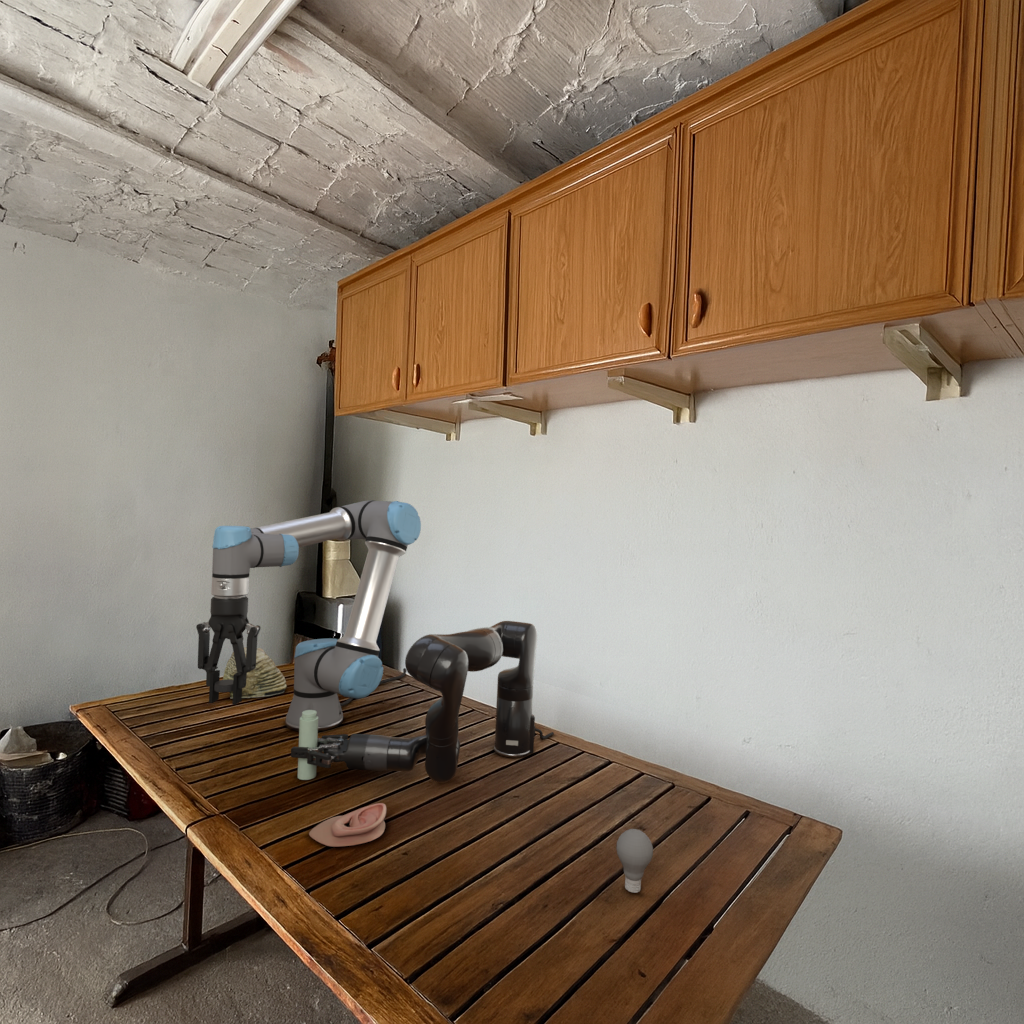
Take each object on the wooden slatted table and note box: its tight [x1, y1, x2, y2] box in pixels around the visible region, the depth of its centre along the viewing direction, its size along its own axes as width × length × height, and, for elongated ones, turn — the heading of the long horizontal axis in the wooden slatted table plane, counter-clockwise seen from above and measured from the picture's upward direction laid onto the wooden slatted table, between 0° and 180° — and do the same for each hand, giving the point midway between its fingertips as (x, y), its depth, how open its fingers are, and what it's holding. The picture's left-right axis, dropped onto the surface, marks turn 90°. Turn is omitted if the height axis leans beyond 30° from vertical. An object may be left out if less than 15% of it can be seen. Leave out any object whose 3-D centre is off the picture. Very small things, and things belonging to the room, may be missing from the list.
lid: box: [214, 679, 233, 693], centre depth 139 cm, size 5×5×2 cm
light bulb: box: [615, 828, 654, 894], centre depth 106 cm, size 6×6×10 cm
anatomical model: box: [308, 802, 387, 848], centre depth 120 cm, size 13×4×12 cm
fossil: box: [222, 646, 288, 699], centre depth 198 cm, size 9×18×15 cm, turn 132°
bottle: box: [297, 710, 319, 781], centre depth 143 cm, size 4×4×15 cm
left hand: (225, 701), depth 139 cm, fingers closed on lid, 4 cm apart
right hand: (295, 747), depth 143 cm, fingers closed on bottle, 4 cm apart
